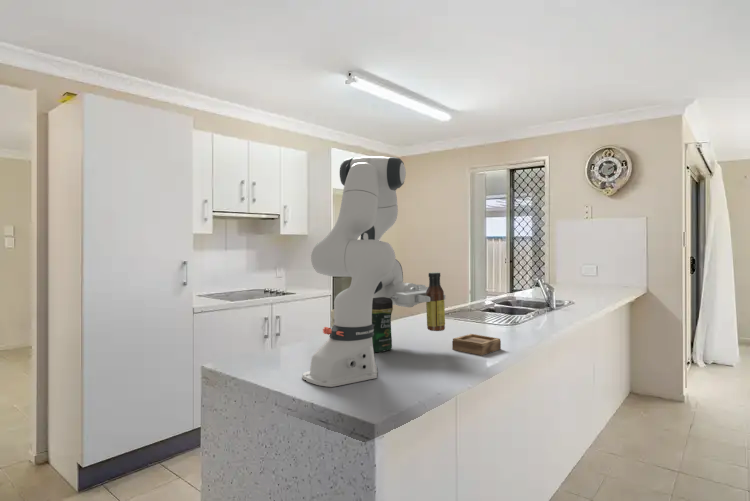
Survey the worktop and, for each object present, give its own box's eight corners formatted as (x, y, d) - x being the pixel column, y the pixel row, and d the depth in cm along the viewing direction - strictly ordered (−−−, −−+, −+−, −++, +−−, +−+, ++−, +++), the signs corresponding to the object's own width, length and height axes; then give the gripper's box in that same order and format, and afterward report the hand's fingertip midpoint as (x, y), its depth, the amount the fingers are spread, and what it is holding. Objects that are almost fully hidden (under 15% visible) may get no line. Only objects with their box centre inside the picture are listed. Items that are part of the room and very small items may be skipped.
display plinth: (481, 355, 154) (481, 344, 154) (452, 349, 163) (452, 338, 163) (500, 349, 162) (500, 338, 162) (471, 343, 171) (471, 333, 171)
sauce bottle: (444, 328, 162) (444, 272, 161) (445, 331, 156) (445, 273, 155) (425, 328, 162) (426, 271, 162) (426, 331, 156) (426, 273, 156)
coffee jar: (375, 354, 156) (376, 300, 155) (360, 349, 162) (361, 297, 161) (396, 349, 163) (397, 297, 162) (381, 345, 169) (381, 295, 168)
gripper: (387, 288, 161) (417, 291, 151) (425, 284, 175) (455, 287, 165) (387, 306, 161) (417, 310, 151) (425, 301, 175) (455, 304, 165)
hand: (437, 298), depth 158 cm, fingers closed on sauce bottle, 6 cm apart
